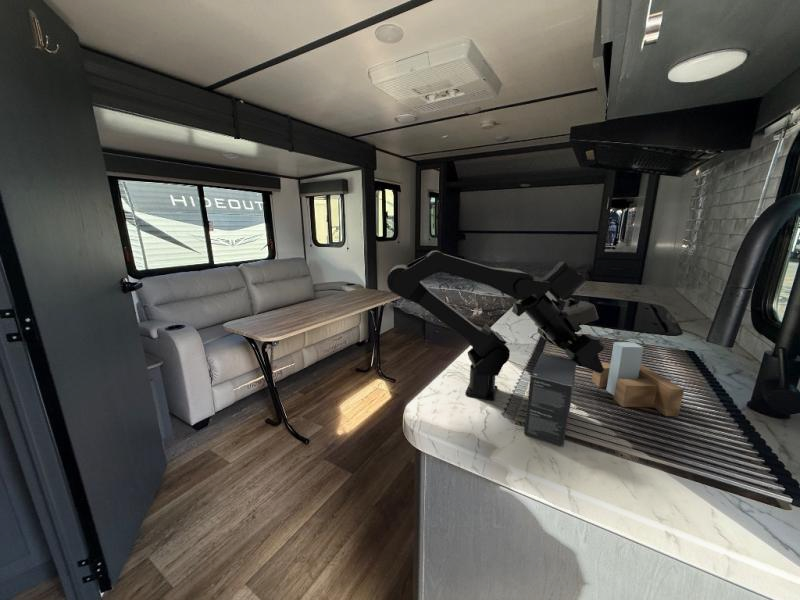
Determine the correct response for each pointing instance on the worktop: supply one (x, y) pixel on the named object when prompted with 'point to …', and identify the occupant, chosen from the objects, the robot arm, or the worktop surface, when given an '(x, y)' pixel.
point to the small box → (550, 398)
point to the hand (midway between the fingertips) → (589, 362)
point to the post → (624, 363)
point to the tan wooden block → (644, 391)
